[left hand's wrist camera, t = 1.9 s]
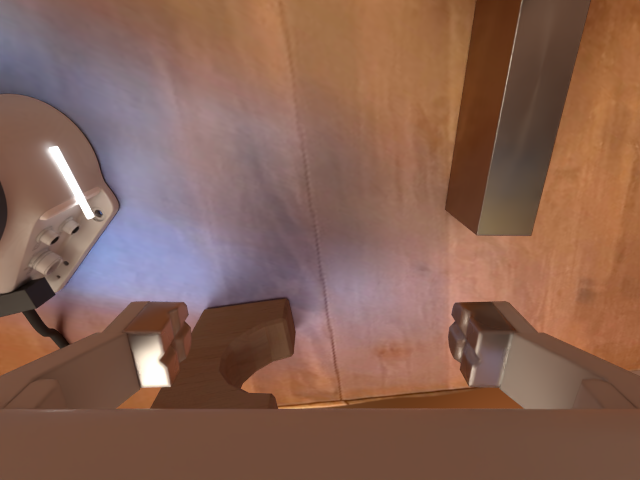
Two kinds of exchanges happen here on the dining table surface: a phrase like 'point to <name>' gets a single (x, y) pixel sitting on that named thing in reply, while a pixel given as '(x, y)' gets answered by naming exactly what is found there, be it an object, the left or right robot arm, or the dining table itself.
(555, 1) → the bar
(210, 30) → the dining table surface
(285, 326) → the decorative block
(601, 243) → the dining table surface
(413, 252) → the dining table surface
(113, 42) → the dining table surface
